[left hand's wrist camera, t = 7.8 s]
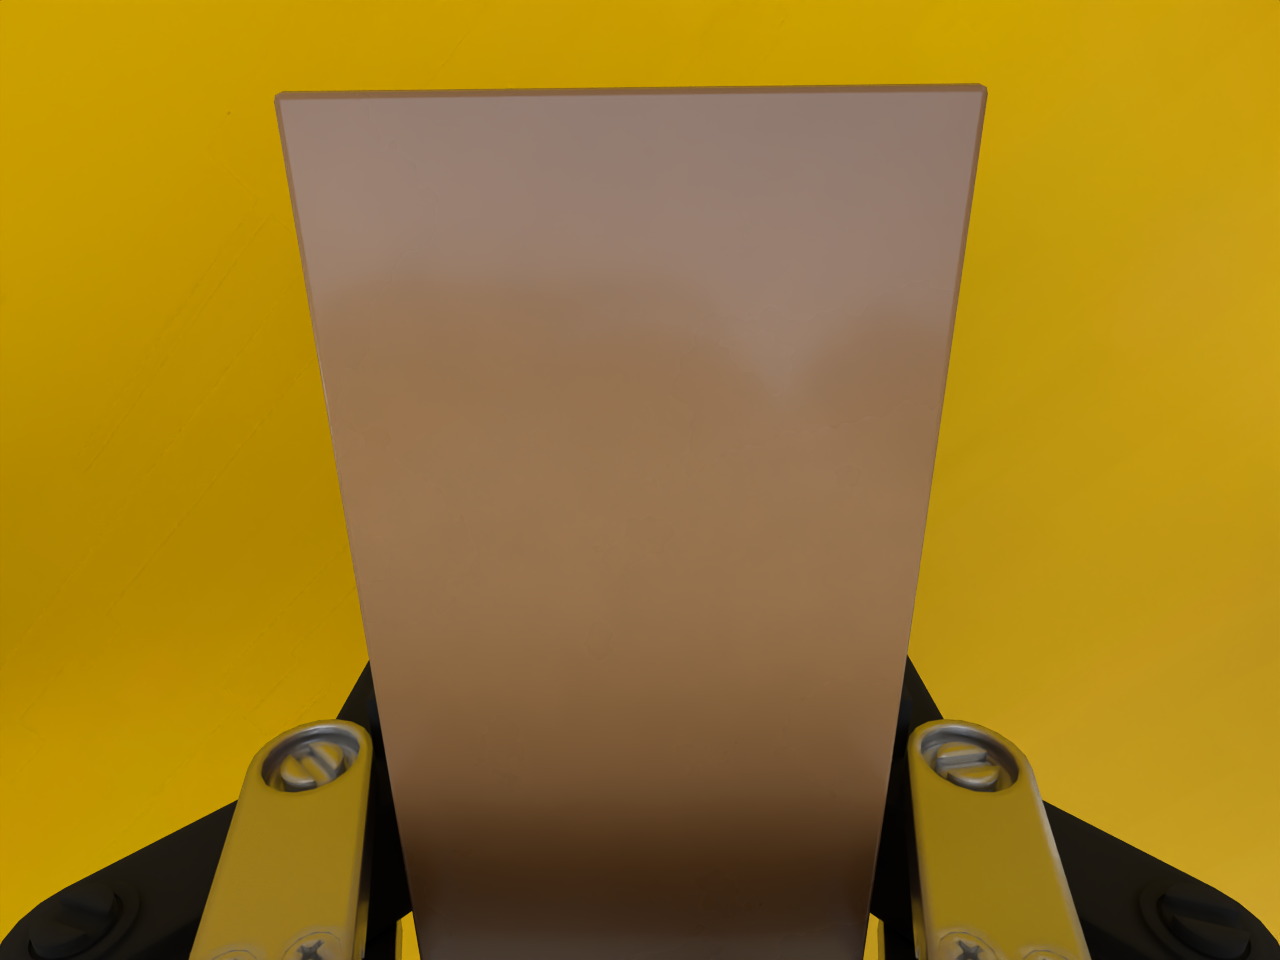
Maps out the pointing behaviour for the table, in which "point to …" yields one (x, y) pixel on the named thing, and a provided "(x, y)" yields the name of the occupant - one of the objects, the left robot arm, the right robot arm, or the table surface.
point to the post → (636, 489)
